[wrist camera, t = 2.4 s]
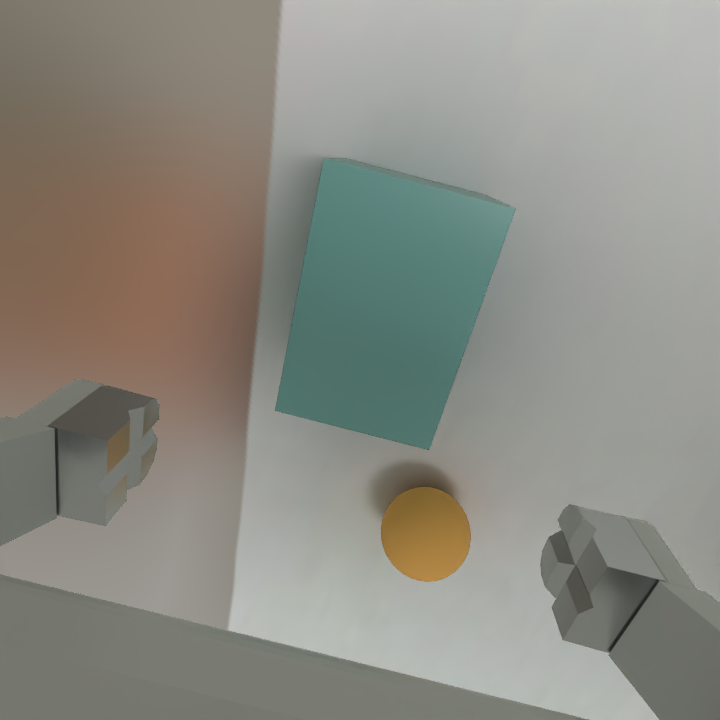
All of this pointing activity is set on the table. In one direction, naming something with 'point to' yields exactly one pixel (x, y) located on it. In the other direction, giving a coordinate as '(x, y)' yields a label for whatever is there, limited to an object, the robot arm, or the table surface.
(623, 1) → the table surface
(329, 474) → the table surface
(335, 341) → the teal rectangular box
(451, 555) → the ball
